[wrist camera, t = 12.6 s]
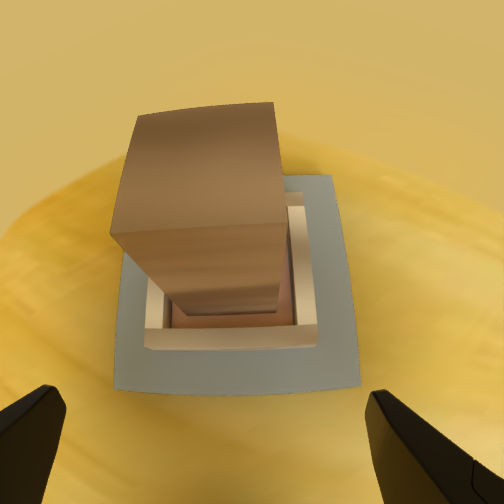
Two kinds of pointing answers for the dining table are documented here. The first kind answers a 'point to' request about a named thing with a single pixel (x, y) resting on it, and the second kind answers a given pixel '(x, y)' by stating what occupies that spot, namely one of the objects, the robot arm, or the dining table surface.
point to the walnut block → (206, 207)
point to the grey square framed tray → (251, 320)
